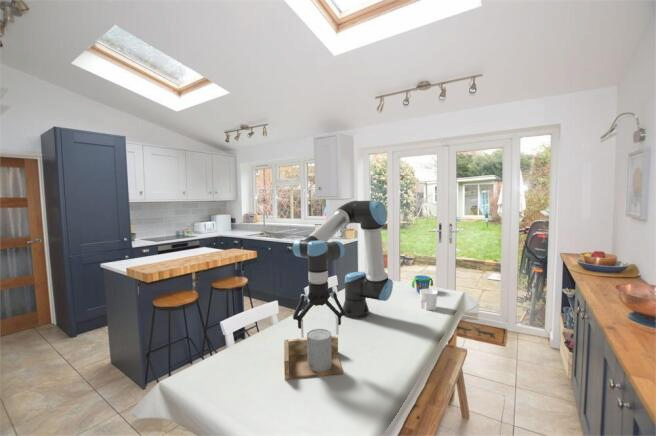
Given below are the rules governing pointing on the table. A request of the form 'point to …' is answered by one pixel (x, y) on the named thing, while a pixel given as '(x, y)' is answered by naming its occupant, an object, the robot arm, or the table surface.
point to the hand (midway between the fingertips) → (319, 334)
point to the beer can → (319, 350)
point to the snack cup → (422, 282)
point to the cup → (428, 299)
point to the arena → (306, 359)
